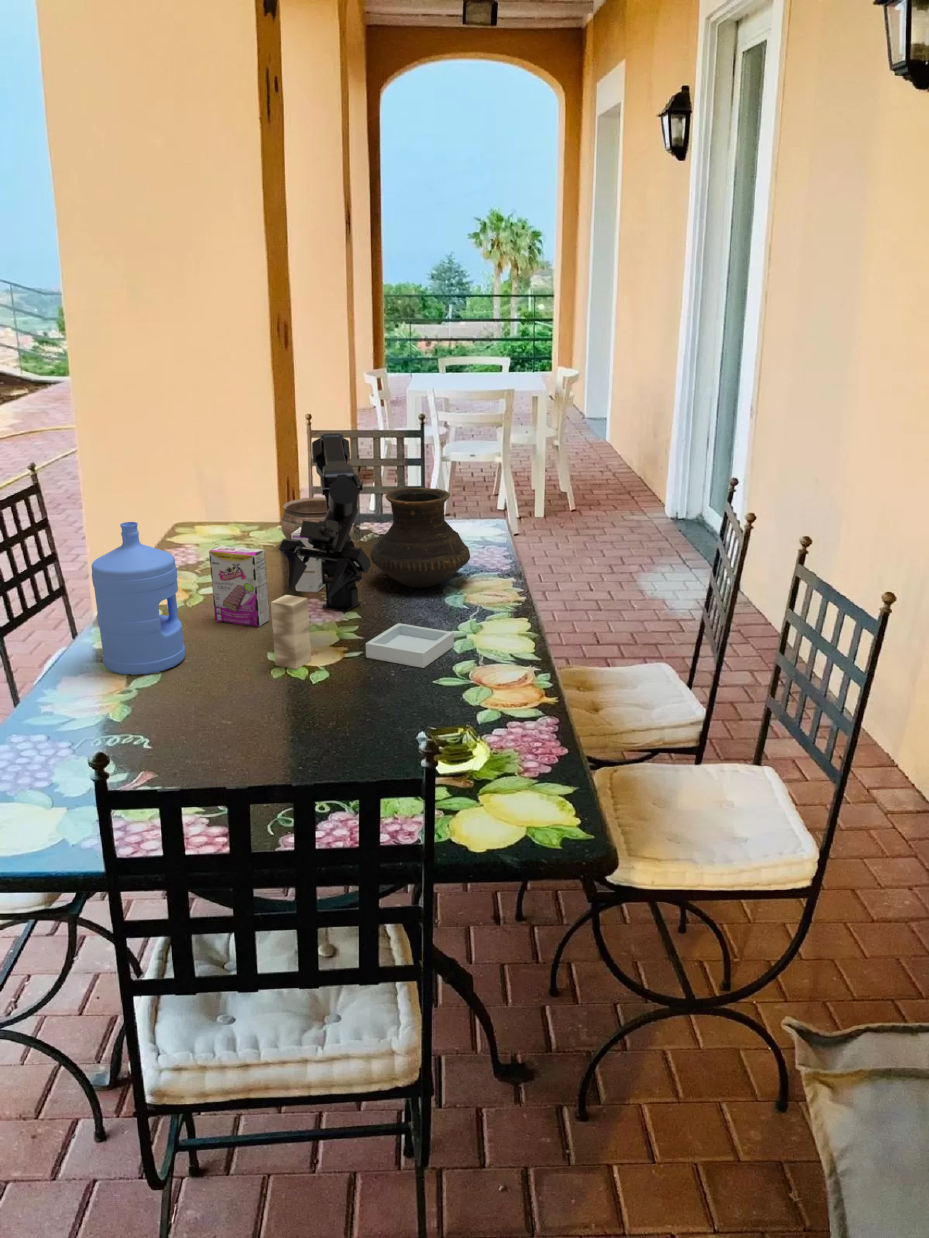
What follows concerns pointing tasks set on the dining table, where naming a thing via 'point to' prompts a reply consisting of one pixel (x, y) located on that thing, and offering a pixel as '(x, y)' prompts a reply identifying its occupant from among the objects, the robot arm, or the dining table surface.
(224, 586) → the candy bar box
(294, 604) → the birch block
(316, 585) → the syrup box
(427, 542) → the ceramic pot
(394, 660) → the tray
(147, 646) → the water jug
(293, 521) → the cooking pot
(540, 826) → the dining table surface
